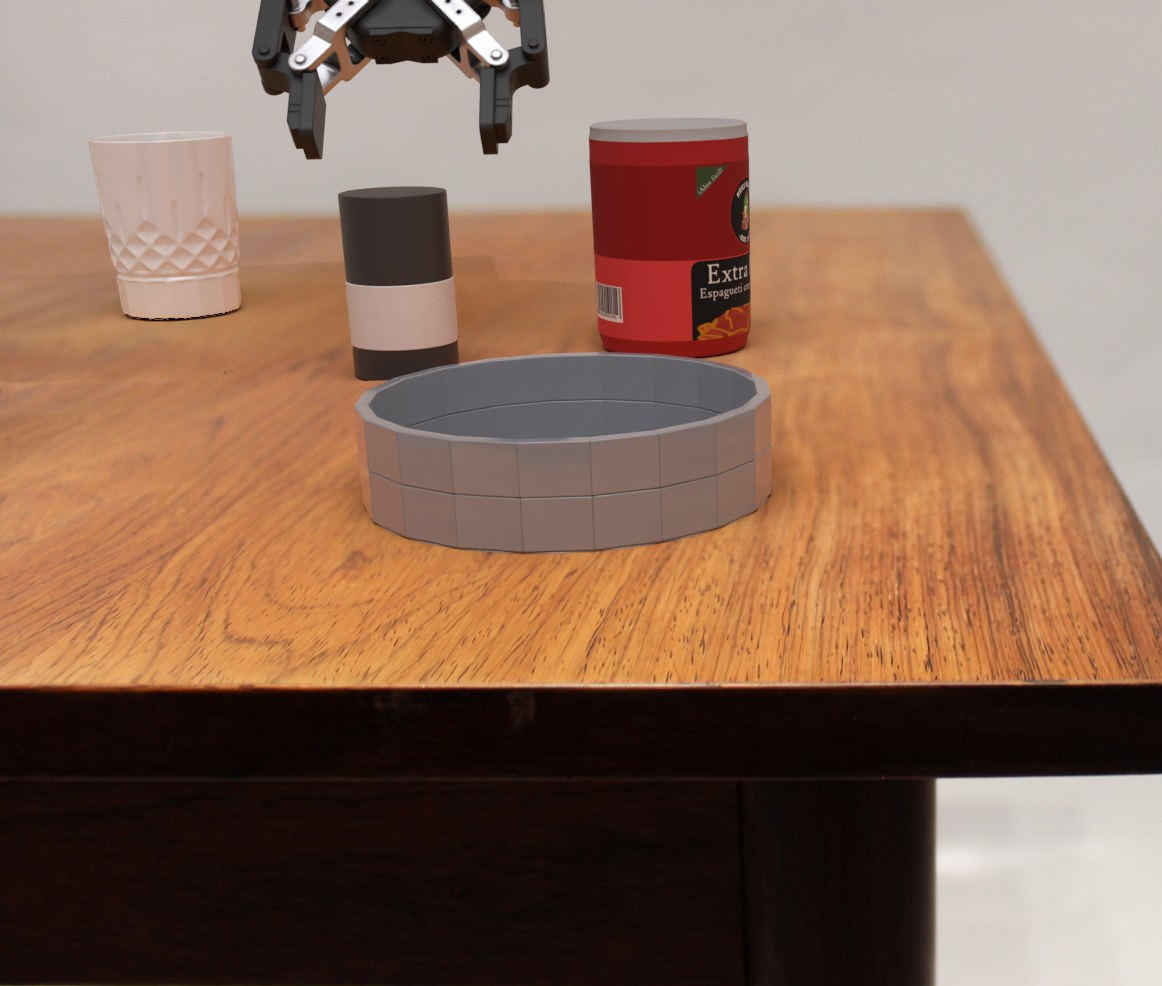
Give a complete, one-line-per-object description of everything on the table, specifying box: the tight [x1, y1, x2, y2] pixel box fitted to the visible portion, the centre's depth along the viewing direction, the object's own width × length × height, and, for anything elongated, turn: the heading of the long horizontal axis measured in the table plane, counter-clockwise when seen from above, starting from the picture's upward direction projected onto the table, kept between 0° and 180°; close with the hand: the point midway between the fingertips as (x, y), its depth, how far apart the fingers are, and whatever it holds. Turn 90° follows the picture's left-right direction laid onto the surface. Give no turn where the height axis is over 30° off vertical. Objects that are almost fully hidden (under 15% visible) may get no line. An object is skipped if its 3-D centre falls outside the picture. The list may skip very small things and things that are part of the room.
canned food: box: [588, 117, 752, 358], centre depth 84 cm, size 8×8×11 cm
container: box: [337, 185, 460, 382], centre depth 80 cm, size 5×5×8 cm
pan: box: [353, 351, 773, 555], centre depth 58 cm, size 14×14×4 cm
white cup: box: [87, 130, 242, 318], centre depth 98 cm, size 8×8×10 cm
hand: (399, 146), depth 80 cm, fingers open, 8 cm apart
